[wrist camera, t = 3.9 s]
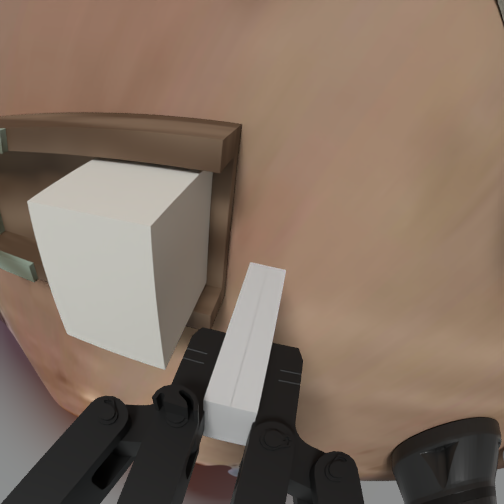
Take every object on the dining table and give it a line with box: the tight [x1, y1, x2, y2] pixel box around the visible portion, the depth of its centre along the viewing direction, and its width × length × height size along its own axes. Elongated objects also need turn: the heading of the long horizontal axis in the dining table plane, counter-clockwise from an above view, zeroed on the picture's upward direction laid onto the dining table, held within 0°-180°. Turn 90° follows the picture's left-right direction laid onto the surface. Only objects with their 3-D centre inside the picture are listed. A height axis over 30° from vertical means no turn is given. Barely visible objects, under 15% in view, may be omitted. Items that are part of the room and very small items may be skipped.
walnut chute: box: [0, 113, 242, 329], centre depth 18 cm, size 12×22×4 cm, turn 83°
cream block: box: [27, 157, 213, 370], centre depth 16 cm, size 8×6×7 cm
